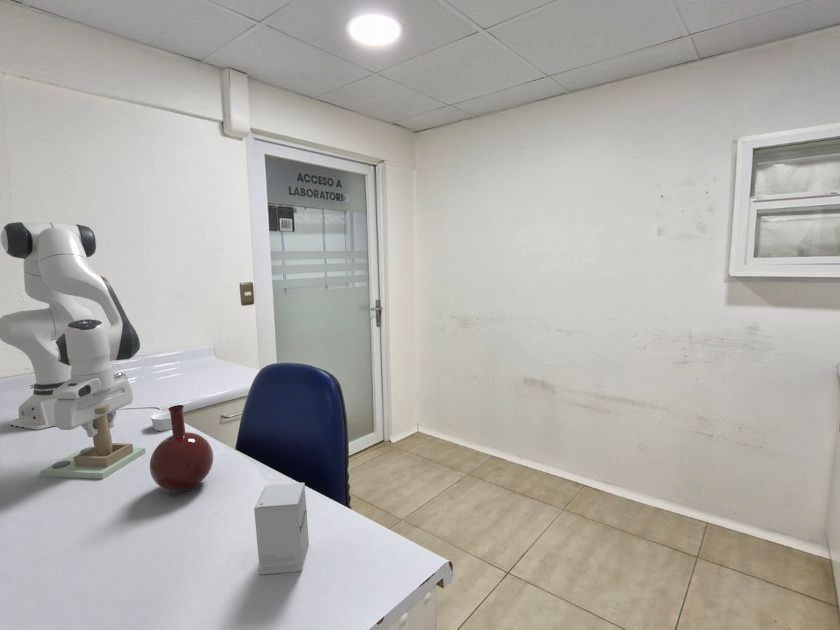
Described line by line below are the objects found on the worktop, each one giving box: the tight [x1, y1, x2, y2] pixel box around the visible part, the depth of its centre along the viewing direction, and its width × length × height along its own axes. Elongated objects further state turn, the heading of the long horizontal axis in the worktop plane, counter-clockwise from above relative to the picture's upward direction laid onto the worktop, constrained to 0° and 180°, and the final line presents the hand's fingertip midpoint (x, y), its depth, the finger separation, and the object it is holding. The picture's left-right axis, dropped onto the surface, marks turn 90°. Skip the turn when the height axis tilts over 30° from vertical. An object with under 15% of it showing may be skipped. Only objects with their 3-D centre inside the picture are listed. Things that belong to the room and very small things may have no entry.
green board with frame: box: [39, 442, 147, 480], centre depth 115 cm, size 18×14×4 cm
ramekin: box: [150, 409, 172, 432], centre depth 139 cm, size 9×9×4 cm
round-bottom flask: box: [149, 404, 214, 492], centre depth 101 cm, size 13×13×20 cm
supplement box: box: [253, 482, 310, 576], centre depth 76 cm, size 7×7×13 cm
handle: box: [92, 404, 113, 456], centre depth 113 cm, size 5×6×15 cm
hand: (101, 432), depth 113 cm, fingers closed on handle, 3 cm apart
